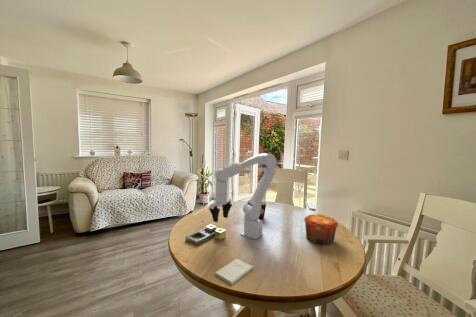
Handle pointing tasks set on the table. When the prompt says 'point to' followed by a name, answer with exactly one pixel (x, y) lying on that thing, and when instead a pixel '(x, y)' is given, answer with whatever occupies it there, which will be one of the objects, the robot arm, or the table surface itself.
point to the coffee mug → (262, 210)
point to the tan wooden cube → (220, 234)
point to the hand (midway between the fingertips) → (220, 219)
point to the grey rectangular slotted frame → (202, 234)
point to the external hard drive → (233, 271)
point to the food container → (320, 229)
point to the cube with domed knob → (210, 228)
